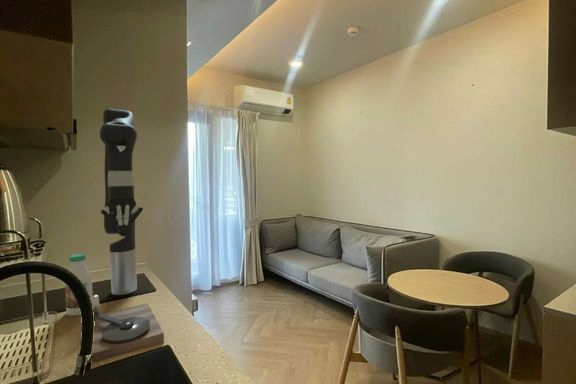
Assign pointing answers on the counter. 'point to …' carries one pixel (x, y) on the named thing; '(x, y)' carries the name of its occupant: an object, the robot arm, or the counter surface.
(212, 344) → the counter surface
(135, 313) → the stand
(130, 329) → the gray disc with handle
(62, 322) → the counter surface
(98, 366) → the counter surface
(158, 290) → the counter surface
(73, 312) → the milk bottle
